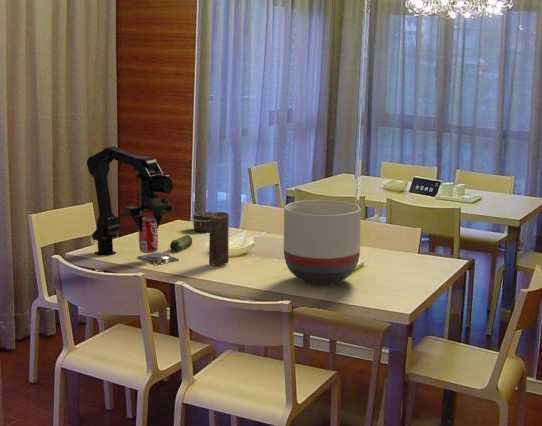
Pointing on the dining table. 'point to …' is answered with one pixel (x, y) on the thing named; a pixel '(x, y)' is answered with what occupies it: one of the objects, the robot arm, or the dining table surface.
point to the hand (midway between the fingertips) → (148, 230)
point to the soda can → (148, 235)
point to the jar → (202, 222)
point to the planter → (322, 240)
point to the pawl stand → (158, 258)
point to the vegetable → (181, 243)
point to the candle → (218, 238)
